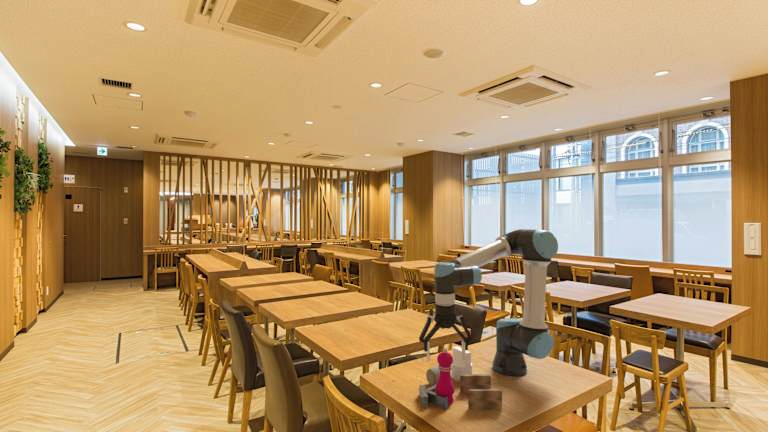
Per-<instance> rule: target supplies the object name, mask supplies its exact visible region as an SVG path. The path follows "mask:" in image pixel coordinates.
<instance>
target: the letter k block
mask: <svg viewBox="0 0 768 432" xmlns="http://www.w3.org/2000/svg"><path fill="white" fill-rule="evenodd" d="M418 388H419V390H418V391H419V392H418V393H419V394H418V395H419V400H420V403H421V408H423V409H424V408H427V409H429V405H432V406H434V407H437V408H439V409H442V410H444V411H446V410H447V409H449V405H448V397H446V396H443V395H440V394H438V393H436V390H435V389H436V384H435V385H433V386H431V385H430V387H428V388H426V386H425V385H424V384H419V385H418Z"/></svg>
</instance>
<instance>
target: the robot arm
mask: <svg viewBox="0 0 768 432" xmlns="http://www.w3.org/2000/svg"><path fill="white" fill-rule="evenodd" d="M558 251H559V243H558V238H557V237H556V236H555V235H554V233H553V232H551V231H550V230H544V229H526V228H525V229H524V228H523V229H522V228H521V229H514V230H513V231H510V232H508V233H505V234H502V235H500V236H498V237H496V239H495V240H494V241H492V242H489V243H488V244H486V245H483V246H481V247H479V248H476V249H474V250H472V251H469V252H467V253H465V254H463V255H460V256H459V257H456V258H454V259H451V260H449V261H440V262H438V263H435V265H434V268H433V269H434V299H435V300H434V302H435V304H434V308H435V309H434V310H435V311H434V312H435V314H434V316H430V315H428V316H427V317H426V323H424V327H423V328H422V330H421V332H420V335H419V337H418V339H419V342H421V343H423V350H424V352H426V360H427V362H430V360H431V359H430V357H431V355H430V351H431V349H430V347H431V345H430V342H429V341H430V340H431V339H432V337H433V336H434V335H435V334H436V333H437V331H439V330H440V329H442V330H443V329H448V330H449V329H451V328H453V329H454V330H455V332H456V333H457V334H458V335H459V336H460V337H461V339H463V340H461V348H462V358H463V360H465V350H467V351H469V342H471V341H473V340H474V338H473V336H472V334H471V331H469V329H468V327H467V325H466V323H465V318H464V317H465V316H463V315H462V314H460V315H456V304H455V303H456V288H458V287H468V286H476V285H478V284H480V283H481V281H482V278H483V277H482V275H483V273H482V270H481V269H480V268H481V267H483V266H484V265H487V264H489V263H491V262H493V261H496V260H498V259H500V258H502V257H503V258H509V257H510V256H513V255H514V256H515V255H516V256H517V255H518V256H522V262H523V263H524V264H525V273H524V274H525V275H524V293H523V294H524V295H523V296H524V297H523V312H522V313H523V315H522V317H523V318H515V317H511V318H508V317H507V318H500V319H497V321H496V327H495V337H496V338H495V339H496V343H495V344H496V351H495V354H494V358H493V360H492V369H493V371H495V372H496V373H499V374H502V375H506V376H515V377H516V376H517V377H518V376H523V375H526V374H527V373H528V366H527V362H526V359H525V355H526V356H528V357H530V358H532V359H536V360H543V359H546V358H547V357H548V356H549V355H550V354H551V352H552V350H554V349H553V348H554V344H555V342H554V341H555V340H554V337H553V336H552V334H551V333H549V326H548V324H547V323H546V322H545V318H546V293H547V277H548V276H547V271H548V266H549V265H550V264H551V263H552V259H553V258H554V257H555V256H556V254H557V253H558ZM433 321H434V322H435V324H434V326H433V327H432V328H431V329H430V331H429V328H430V326H431V323H433ZM457 321H458V322H459V323H460V324H461V327H462V329H463V330H464V332H465V335H466V336H465V335H464V333H463V332H462V331H461V330H460V329H459V328H458V327H457V325H456V324H455V323H456V322H457ZM428 331H429V332H428Z"/></svg>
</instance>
